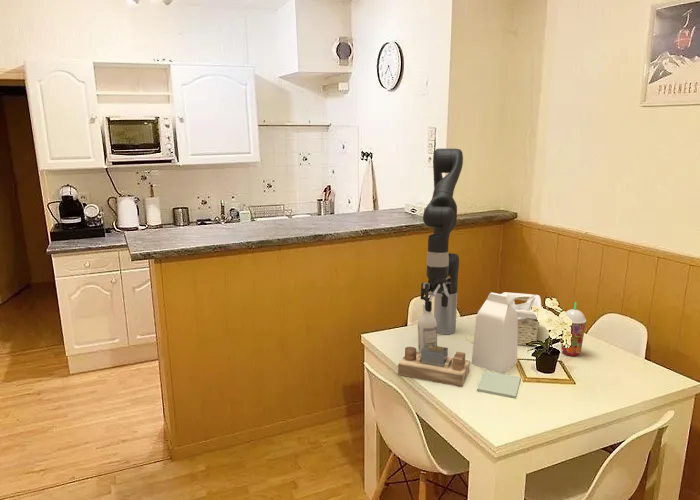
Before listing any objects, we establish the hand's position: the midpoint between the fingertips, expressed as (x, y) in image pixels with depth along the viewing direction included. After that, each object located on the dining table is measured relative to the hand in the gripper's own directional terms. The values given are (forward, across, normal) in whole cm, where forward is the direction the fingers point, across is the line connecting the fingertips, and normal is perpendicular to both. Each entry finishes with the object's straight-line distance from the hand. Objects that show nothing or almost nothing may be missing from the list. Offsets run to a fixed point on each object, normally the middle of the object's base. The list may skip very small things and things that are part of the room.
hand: (436, 308), depth 183 cm
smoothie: (+20, -45, +28) cm, 57 cm away
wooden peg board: (+21, +6, +4) cm, 22 cm away
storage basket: (+19, -46, +4) cm, 50 cm away
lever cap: (+17, +6, +5) cm, 18 cm away
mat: (+21, -4, +24) cm, 32 cm away
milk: (+21, -16, +14) cm, 30 cm away
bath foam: (+20, -4, -7) cm, 22 cm away
